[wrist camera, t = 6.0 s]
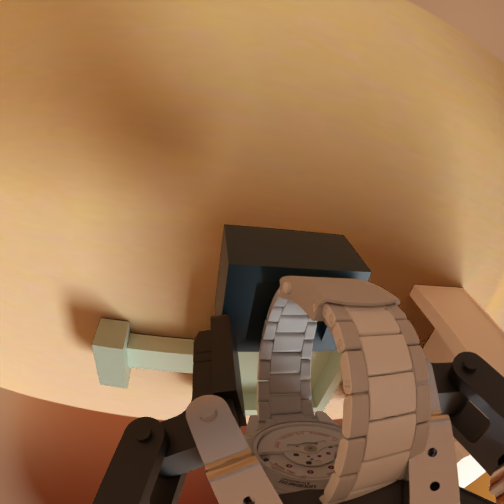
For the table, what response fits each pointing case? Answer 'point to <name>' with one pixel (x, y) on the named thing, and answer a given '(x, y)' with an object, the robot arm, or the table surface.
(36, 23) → the table surface
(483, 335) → the white side table
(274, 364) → the watch
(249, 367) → the tray
